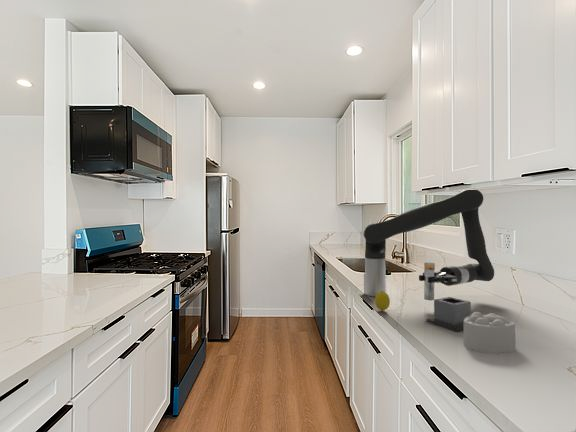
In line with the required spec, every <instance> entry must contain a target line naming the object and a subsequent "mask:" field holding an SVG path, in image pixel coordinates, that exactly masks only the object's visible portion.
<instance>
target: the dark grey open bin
mask: <svg viewBox="0 0 576 432" xmlns="http://www.w3.org/2000/svg"><path fill="white" fill-rule="evenodd" d="M471 304H472V302H471V301H468V300H464V299H460V298H457V297H453V296H447V297H442V298H441V297H440V298H436V299H435V298H434V300H433V306H434V307H433V311H434V312H433V314H434V315H433V317H430V318H426V323H429V324H432V325H435V326H438V327H441V328H443V329H447V330H450V331H453V332H456V333H460V332H464V319H465V318H466V317H468V316H471V314H472V313H471V312H472V305H471Z"/></svg>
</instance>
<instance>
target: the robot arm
mask: <svg viewBox="0 0 576 432" xmlns="http://www.w3.org/2000/svg"><path fill="white" fill-rule="evenodd" d="M462 190H463V191H462ZM462 190H460V192H458V193H456V194H454V195H452V196H450V197H447V198H445V199H442V200H439V201H438V200H437V201H434V202H429V203H426V204H422V205H420V206H417V207H414V208H411V209H409V210H406V211H404V212H402V213H401V214H399V215H397V216H395V217H392V218H390V219H388V220H384V221H381V222H377V223H370V224H368V225H367V226H366V227H365V229H364V231H363V237H364V240H365V250H364V269H365V272H364V274H363V294H365V295H366V296H368V297H376V295H377V293H379V292H381V291H384V292H385V293H387V289H386V287H387V286H386V284H387V283H386V282H387V280H386V279H387V277H386V275H387V273H386V252H387V251H386V250H387V249H386V247H387V245H386V240H387V239H390V238H391V237H394V236H396V235H399V234H404V233H408V232H412V231H416V230H419V229H422V228H425V227H427V226H430V225H434V224H435V223H437V222H440V221H442V220H444V219H446V218H449V217H451V216H453V215H457V214H460V215H461V218H462V222H463V226H464V235H465V242H466V243H465V245H466V250H467V256H468V257H469V259H473V260H475V261H477V263H469V264H465V265H451V266H443V267H441V269H440V270H439V271H438V270H436V271H434V276H433V277H428V283H434V284H435V283H437V284H442V285H445V286H447V287H450V286H457V285H463V284H466V283H472V282H474V281H482V282H490V281H492V280H494V277H495V269H494V266H493V264H492V262H491V260H490V257H489V255H488V252H487V248H486V247H487V245H486V240H485V239H486V238H485V236H484V232H483V229H482V226H481V222H480V216H479V208H480V207H481V206H482V204H483V202H484V195H483V193H482V192H481V191H480V190H478V189H476V190H464V189H462ZM418 280H419V282H424V272H422V274H420V275H418Z"/></svg>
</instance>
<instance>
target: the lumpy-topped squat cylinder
mask: <svg viewBox="0 0 576 432" xmlns="http://www.w3.org/2000/svg"><path fill="white" fill-rule="evenodd" d="M463 346H464V347H465V348H466V349H469V350H471V351H474V352H479V353H485V354H505V353H506V354H507V353H511V352H515V351H516V347H517V346H516V323H515V322H514V321H511V320H509V319H508V318H507V317H505V316H501V315H498V314H496V313H492V312H489V313H487V314H482V313H481V312H480V311H474V312H472V313H471V316H468V317H466V318H465V319H464V331H463Z"/></svg>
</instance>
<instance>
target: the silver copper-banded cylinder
mask: <svg viewBox="0 0 576 432" xmlns="http://www.w3.org/2000/svg"><path fill="white" fill-rule="evenodd" d="M435 267H436V264H435V262H431V261H428V262H427V261H425V262H424V264H423V268H424V271H423V273H424V281H423V283H424V285H423V299H424V300H426V301H434V300H435V283H428V277H433V276H434V272H435V269H436V268H435Z"/></svg>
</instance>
